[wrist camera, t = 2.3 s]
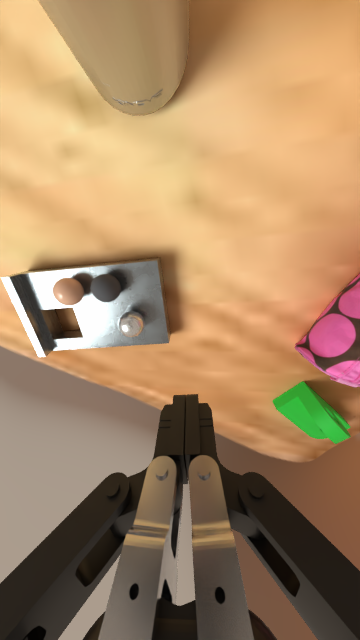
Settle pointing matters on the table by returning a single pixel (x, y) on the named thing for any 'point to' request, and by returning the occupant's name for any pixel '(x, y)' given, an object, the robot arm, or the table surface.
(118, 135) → the table surface
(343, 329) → the pencil case
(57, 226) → the table surface
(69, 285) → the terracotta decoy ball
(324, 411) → the mechanical part
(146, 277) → the grey ball holder tray
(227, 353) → the table surface
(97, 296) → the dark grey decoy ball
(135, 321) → the steel ball
